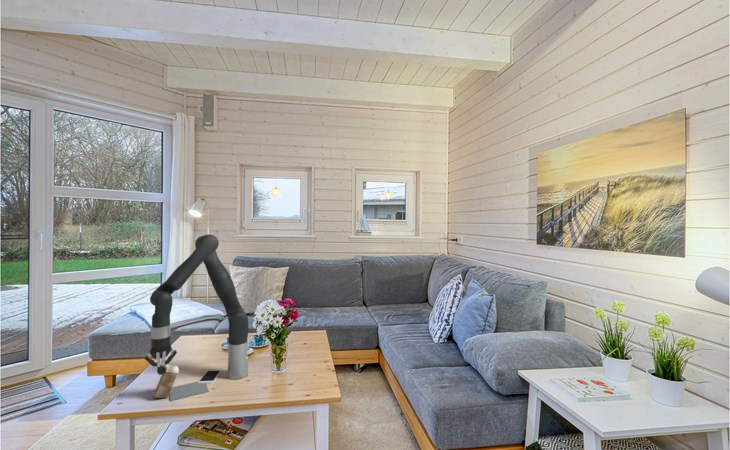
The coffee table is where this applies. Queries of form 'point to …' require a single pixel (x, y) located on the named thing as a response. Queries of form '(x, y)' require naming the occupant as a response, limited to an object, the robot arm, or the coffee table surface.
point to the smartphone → (210, 376)
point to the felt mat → (187, 390)
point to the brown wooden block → (166, 381)
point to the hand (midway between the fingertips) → (160, 374)
